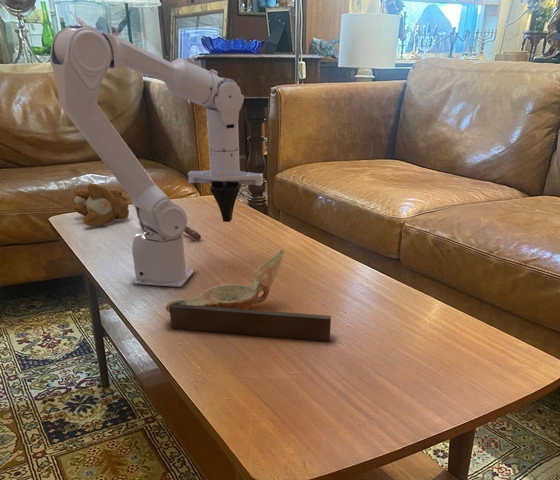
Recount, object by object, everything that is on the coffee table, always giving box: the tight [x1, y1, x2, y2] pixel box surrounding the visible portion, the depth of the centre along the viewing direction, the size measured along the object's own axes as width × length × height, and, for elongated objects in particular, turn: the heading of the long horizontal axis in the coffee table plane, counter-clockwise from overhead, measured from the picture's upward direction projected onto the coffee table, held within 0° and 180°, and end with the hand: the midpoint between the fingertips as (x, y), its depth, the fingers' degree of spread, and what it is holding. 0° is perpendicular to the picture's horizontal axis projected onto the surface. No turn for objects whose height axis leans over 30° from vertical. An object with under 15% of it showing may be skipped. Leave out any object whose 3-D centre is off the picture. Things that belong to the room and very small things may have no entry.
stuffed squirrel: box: [72, 183, 130, 226], centre depth 143 cm, size 10×14×13 cm
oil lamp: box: [165, 248, 285, 314], centre depth 93 cm, size 9×21×10 cm, turn 113°
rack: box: [169, 304, 332, 343], centre depth 88 cm, size 26×1×4 cm, turn 80°
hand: (227, 220), depth 111 cm, fingers closed
